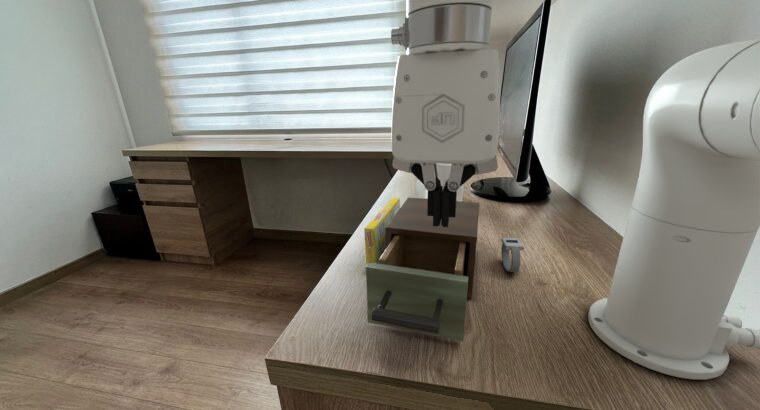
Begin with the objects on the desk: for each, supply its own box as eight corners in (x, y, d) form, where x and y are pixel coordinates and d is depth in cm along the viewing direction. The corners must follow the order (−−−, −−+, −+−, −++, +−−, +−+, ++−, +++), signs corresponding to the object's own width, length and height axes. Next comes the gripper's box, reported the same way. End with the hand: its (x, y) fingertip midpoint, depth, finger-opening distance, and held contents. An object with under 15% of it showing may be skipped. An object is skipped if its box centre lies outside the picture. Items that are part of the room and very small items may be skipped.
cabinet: (471, 299, 45) (477, 237, 42) (385, 285, 49) (385, 227, 46) (475, 252, 58) (479, 202, 55) (407, 244, 62) (408, 197, 59)
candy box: (391, 234, 67) (391, 197, 64) (401, 235, 66) (401, 197, 64) (365, 273, 53) (363, 227, 50) (377, 274, 52) (376, 228, 49)
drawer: (459, 376, 32) (465, 310, 29) (352, 351, 35) (349, 290, 33) (469, 279, 48) (473, 232, 46) (395, 268, 52) (395, 224, 49)
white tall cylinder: (462, 236, 65) (468, 165, 60) (429, 234, 67) (432, 164, 62) (461, 224, 71) (466, 158, 67) (431, 222, 73) (433, 158, 68)
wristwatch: (523, 279, 50) (527, 251, 48) (505, 278, 50) (509, 250, 48) (512, 260, 56) (515, 234, 54) (495, 259, 56) (498, 233, 54)
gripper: (357, 38, 28) (367, 230, 34) (545, 22, 24) (518, 242, 30) (379, 49, 34) (384, 207, 40) (527, 38, 31) (509, 214, 37)
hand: (441, 221), depth 35 cm, fingers closed
